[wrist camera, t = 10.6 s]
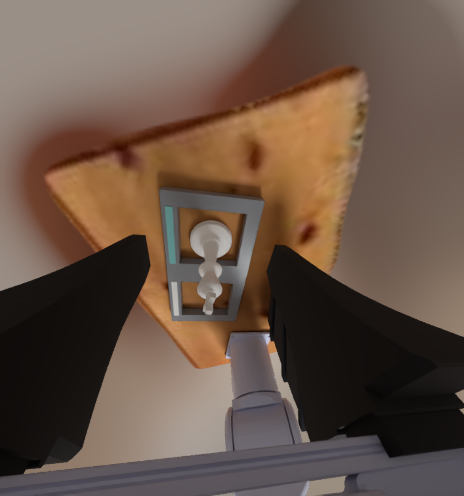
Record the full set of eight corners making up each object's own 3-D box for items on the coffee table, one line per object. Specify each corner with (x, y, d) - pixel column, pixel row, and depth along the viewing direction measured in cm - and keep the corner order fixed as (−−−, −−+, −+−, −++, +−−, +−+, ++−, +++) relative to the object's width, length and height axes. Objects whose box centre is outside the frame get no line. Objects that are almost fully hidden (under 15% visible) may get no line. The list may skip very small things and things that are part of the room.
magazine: (266, 339, 31) (307, 447, 16) (262, 269, 29) (303, 318, 14) (287, 336, 31) (345, 441, 16) (284, 267, 29) (347, 313, 14)
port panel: (234, 314, 28) (235, 321, 27) (173, 314, 27) (171, 321, 26) (262, 197, 18) (265, 201, 17) (162, 186, 16) (158, 189, 15)
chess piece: (238, 228, 19) (256, 296, 11) (223, 260, 22) (228, 336, 14) (196, 214, 18) (181, 280, 10) (185, 249, 20) (165, 327, 12)
